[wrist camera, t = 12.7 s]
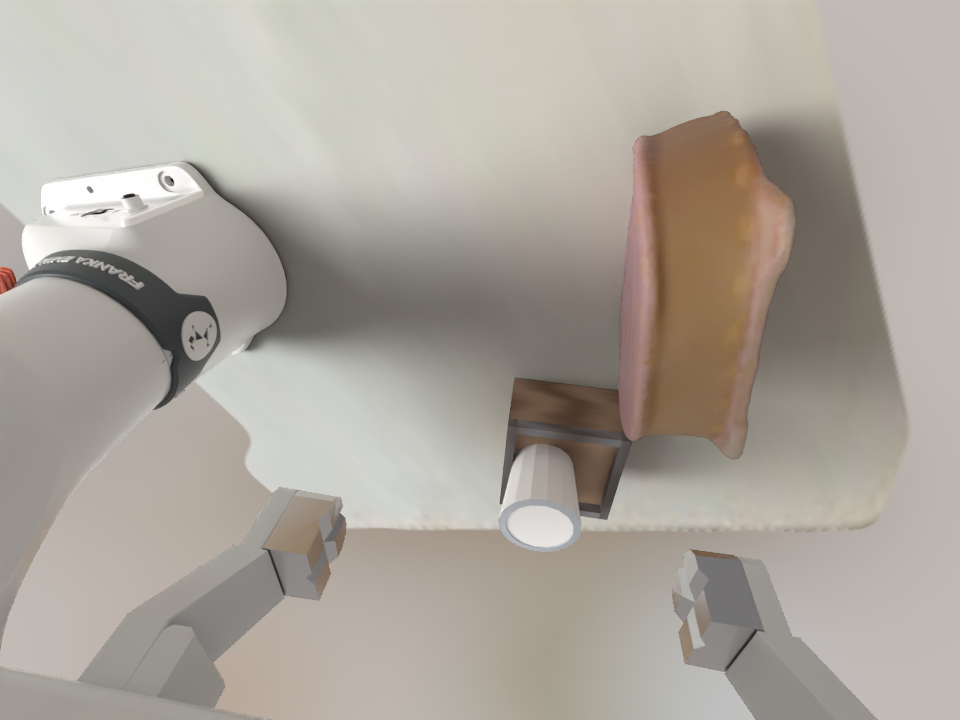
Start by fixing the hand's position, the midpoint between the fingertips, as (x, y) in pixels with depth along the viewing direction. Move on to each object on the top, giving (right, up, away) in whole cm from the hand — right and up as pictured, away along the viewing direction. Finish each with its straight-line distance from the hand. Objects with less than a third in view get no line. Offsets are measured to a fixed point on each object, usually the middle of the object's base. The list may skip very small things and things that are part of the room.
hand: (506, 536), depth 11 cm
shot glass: (+5, -6, +34) cm, 35 cm away
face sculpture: (+13, +13, +27) cm, 33 cm away
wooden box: (+8, -3, +39) cm, 39 cm away
